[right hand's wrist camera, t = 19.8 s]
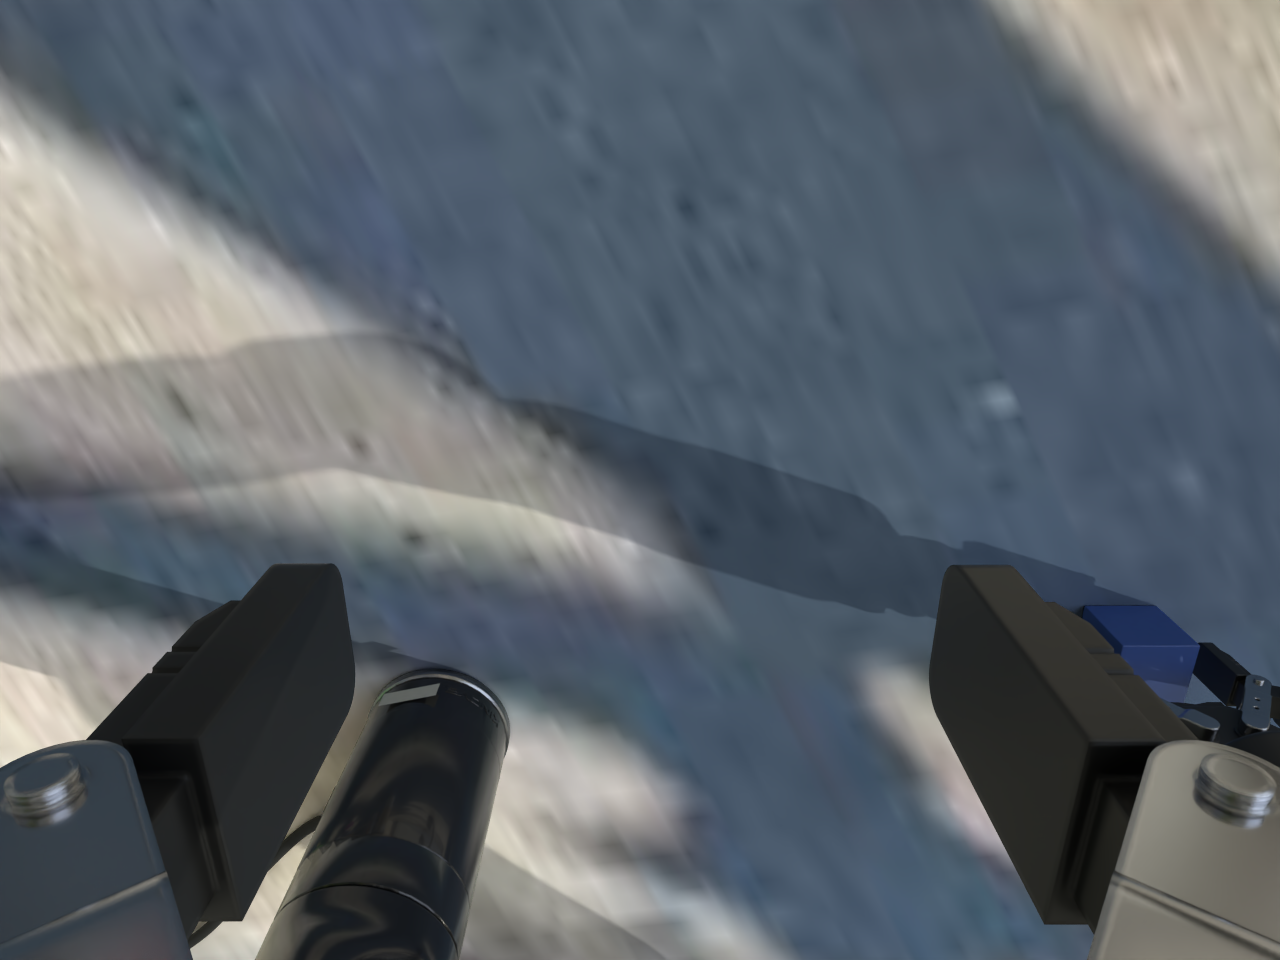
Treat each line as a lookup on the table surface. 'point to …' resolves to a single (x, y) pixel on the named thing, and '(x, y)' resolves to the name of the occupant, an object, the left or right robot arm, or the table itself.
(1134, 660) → the block
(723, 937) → the table surface
